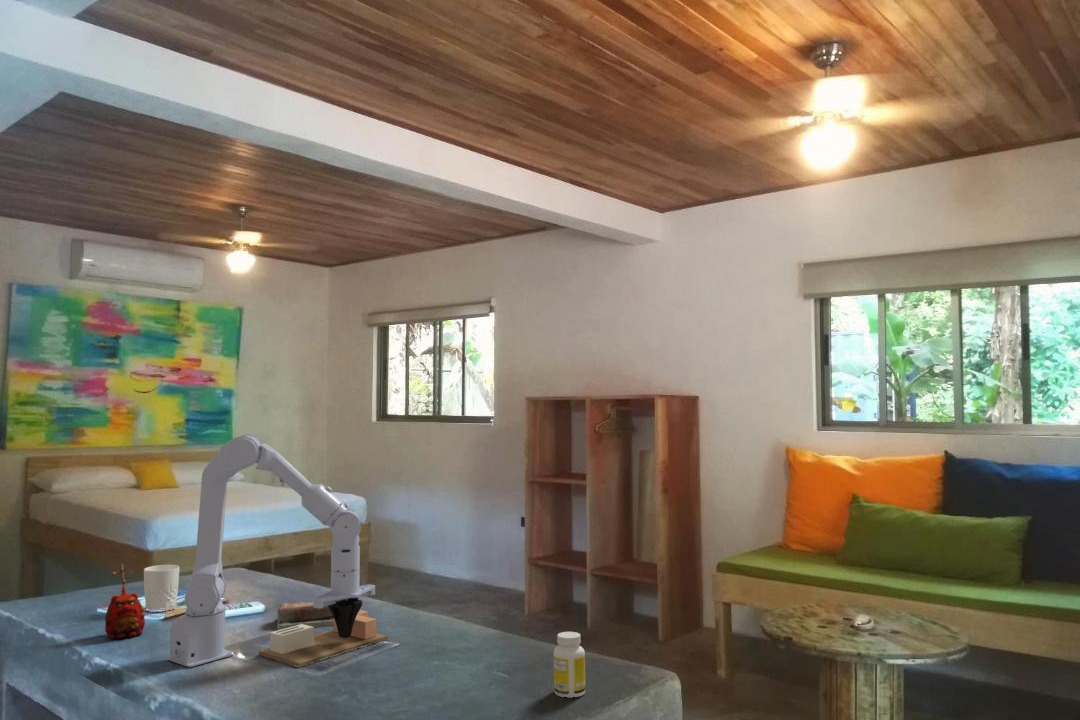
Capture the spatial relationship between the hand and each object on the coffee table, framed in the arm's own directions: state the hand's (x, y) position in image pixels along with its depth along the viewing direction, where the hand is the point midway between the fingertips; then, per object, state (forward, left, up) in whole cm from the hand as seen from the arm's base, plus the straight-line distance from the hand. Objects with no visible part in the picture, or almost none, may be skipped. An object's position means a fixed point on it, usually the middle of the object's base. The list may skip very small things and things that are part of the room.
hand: (344, 636), depth 164 cm
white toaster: (-8, +6, -2) cm, 10 cm away
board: (-3, +3, -2) cm, 4 cm away
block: (+7, +3, -1) cm, 7 cm away
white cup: (-7, +60, -2) cm, 60 cm away
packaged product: (+9, +20, -3) cm, 22 cm away
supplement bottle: (+5, -52, -2) cm, 52 cm away
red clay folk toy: (-23, +45, -2) cm, 50 cm away
